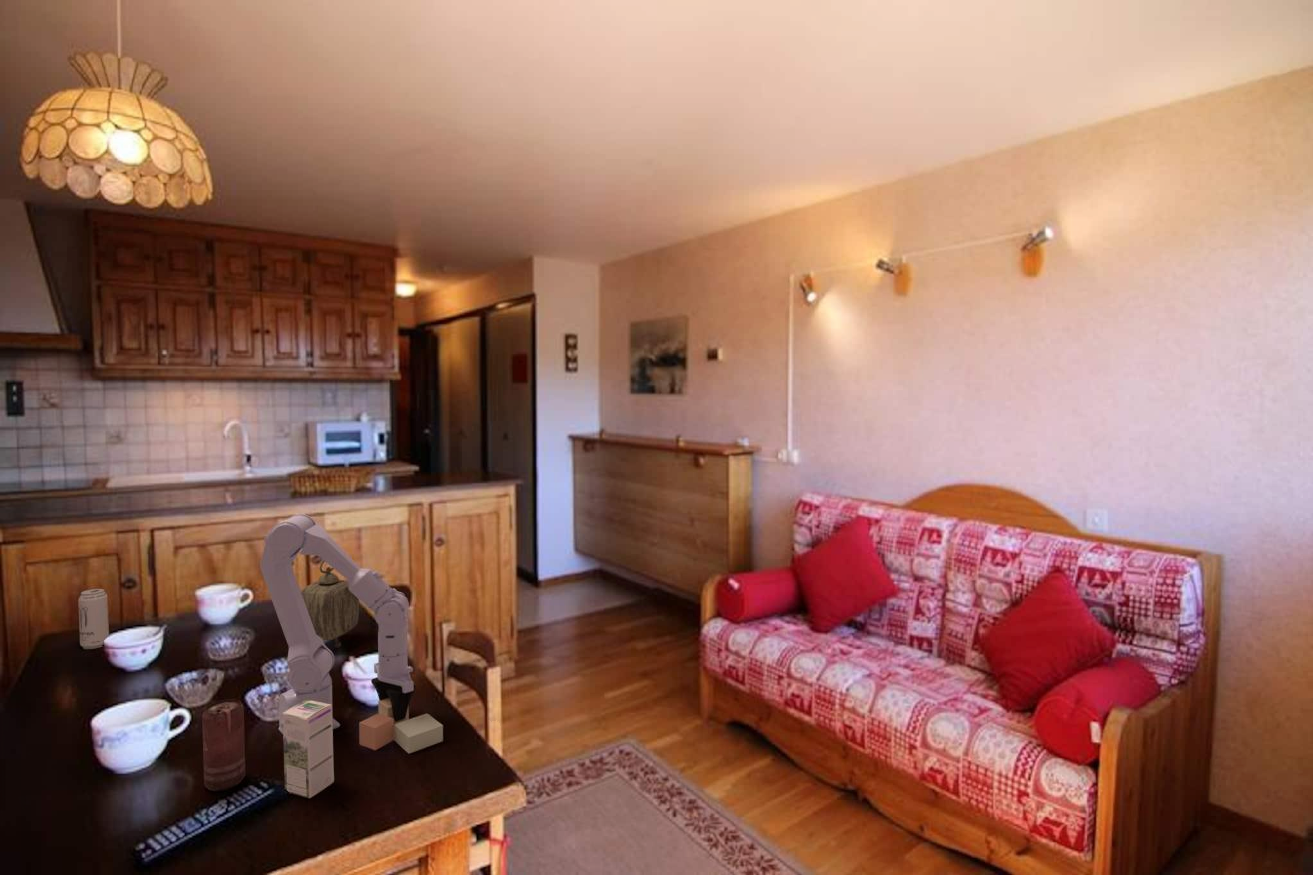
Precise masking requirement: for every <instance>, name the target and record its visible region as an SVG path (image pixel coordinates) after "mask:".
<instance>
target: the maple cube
mask: <svg viewBox="0 0 1313 875" xmlns="http://www.w3.org/2000/svg"><path fill="white" fill-rule="evenodd" d="M377 703H378V704H377V705H378V713H379V714H382V715H385V716H388V717H391V718H394V717H393V712H392V705H391V701H390V699H389V698H386V699H383V700H380V701H379V700H378V702H377ZM409 709H410V705H408V709H407V713H406V717H405V719H402V720H400V721H397V722H396V721H395V720H394V724H396V723H399V722H402V721H406V720H409V719H410V718H409V716H410V715H409V714H410V713H409V712H410V711H409Z"/></svg>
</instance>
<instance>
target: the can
mask: <svg viewBox="0 0 1313 875" xmlns="http://www.w3.org/2000/svg"><path fill="white" fill-rule="evenodd" d="M244 710H245V709H244V705H243V704H242V702H241V700H239V699H231V698H230V699H224V700H219V701H215V702H213V703H211V704H209V705H207V706H206V707H205V708H204V712H203V713H202V717H201V718H202V720H201V721H202V722H201V723H202V747H203V748H202V749H203V750H202V751H203V753H202V755H203V757H202V758H203V781H204V782H203V784H204V787H205V788H206V789H207V790H208V791H210V792H211V791H212V792H221V791H225V790H228V789H231V788H235V787H236V786H237V785H239V784H240V783H242V781H243V780H244V778H245V777H246V751H245V750H246V748H245V742H246V741H245V711H244Z"/></svg>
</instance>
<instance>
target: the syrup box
mask: <svg viewBox="0 0 1313 875" xmlns="http://www.w3.org/2000/svg"><path fill="white" fill-rule="evenodd" d="M332 718H333V704H332V705H331V704H326V703H321V702H316V701H311V700H306V701H304V702H301V703H299V704H297V705H295V706H293V707H292V708H290V709H288V710H287V711H285V712H284V713H283V734H282V735H283V736H282V738H283V764H284V765H283V766H284V769H283V770H284V790H285V789H286V790H287V791H288V792H289V793H288V794H292V795H295V796H299V797H303V798H306V799H307V798H308V799H311V798H313V797H314V796H316V795H317V794H319V793H320V792H322V791H323V790H325V789H326V788H327V787H329V786H331V785H332V784H333V783H335V782H334V781H335V772H334V770H335V769H334V766H335V765H334V736H333V733H334V729H333V727H332Z"/></svg>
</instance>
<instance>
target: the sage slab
mask: <svg viewBox="0 0 1313 875" xmlns="http://www.w3.org/2000/svg"><path fill="white" fill-rule="evenodd" d="M393 741H394V742H395V743H396V744H398V746H400V747H401V748H402V750H404V751H405V752H406V753H408V754H411V753H415V752H417V751H420V750H424V749H425V748H427V747H431V746H433V745H436V744H439V743H442V742H444V725H443V724H442V723H441V722H439V721H438V720H437V719H435V718H434V717H433V716H431V715H430V714H428V713H424V714H420V715H418V716H415V717H412V718H409V720H406V721H402V722H399V723H396V724H394V740H393Z"/></svg>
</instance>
